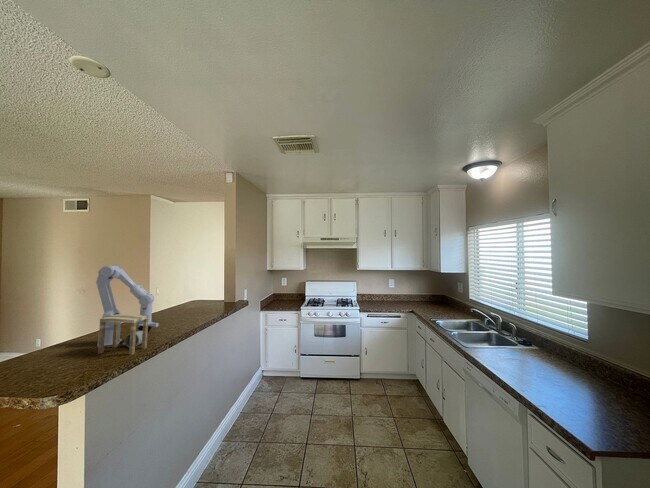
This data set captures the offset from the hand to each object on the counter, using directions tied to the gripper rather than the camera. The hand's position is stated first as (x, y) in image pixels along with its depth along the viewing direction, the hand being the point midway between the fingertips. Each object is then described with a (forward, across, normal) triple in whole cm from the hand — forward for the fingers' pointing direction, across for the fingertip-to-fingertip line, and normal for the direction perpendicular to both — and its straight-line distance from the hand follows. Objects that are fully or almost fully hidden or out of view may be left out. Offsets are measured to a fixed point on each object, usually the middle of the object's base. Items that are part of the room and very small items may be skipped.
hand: (144, 338), depth 148 cm
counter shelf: (+1, 0, -15) cm, 15 cm away
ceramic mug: (+2, -1, -7) cm, 7 cm away
